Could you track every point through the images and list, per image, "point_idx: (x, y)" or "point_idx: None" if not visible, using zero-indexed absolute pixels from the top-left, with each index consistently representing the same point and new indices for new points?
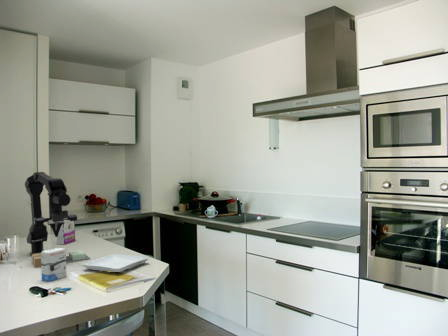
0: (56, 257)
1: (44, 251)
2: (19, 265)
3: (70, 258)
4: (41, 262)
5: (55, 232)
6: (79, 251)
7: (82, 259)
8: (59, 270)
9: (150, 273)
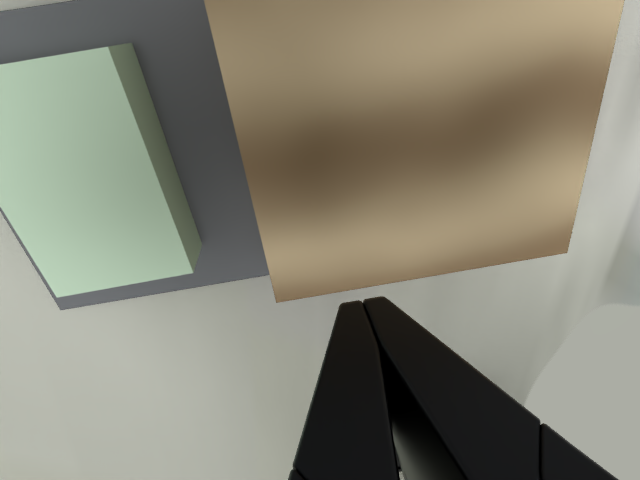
0: None
1: None
2: (631, 150)
3: (174, 165)
4: None
5: (434, 376)
6: (57, 240)
7: (2, 31)
8: None
9: None
